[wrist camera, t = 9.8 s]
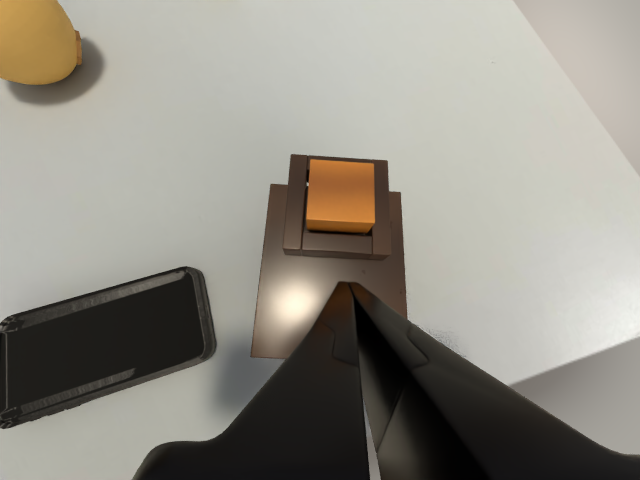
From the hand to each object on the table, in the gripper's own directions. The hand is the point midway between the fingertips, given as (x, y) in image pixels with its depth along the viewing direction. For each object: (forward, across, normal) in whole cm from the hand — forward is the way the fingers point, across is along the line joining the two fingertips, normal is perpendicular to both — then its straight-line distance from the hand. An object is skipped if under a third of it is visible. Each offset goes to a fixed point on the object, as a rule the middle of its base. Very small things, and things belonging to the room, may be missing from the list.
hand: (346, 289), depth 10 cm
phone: (+5, -17, -10) cm, 21 cm away
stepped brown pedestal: (+9, 0, -6) cm, 11 cm away
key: (+7, 0, +1) cm, 7 cm away
